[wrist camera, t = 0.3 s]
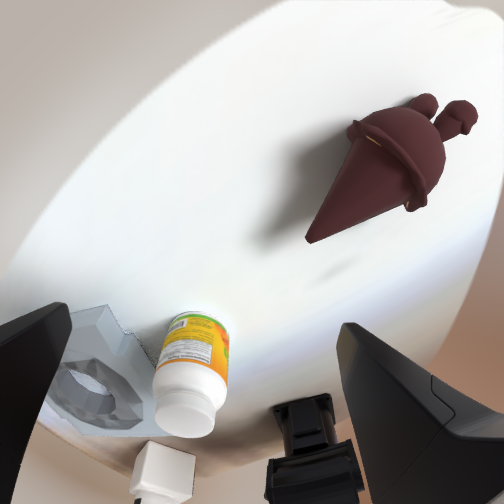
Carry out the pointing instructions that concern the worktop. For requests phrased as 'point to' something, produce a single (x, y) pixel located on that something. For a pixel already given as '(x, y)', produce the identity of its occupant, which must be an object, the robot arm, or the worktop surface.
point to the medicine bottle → (162, 475)
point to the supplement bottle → (191, 375)
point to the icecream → (391, 162)
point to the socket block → (105, 379)
